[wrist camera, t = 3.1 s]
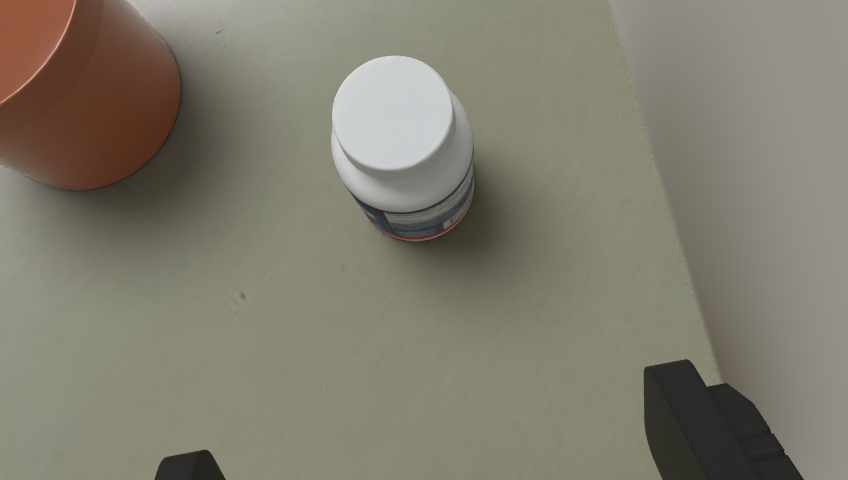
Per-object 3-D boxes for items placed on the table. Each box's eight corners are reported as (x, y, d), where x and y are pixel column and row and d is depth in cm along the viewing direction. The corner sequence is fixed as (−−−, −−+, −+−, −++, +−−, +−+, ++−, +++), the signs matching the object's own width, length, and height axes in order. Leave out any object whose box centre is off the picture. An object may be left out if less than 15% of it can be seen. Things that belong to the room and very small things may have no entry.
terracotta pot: (230, 105, 32) (134, 0, 23) (62, 241, 31) (-102, 188, 22) (114, -32, 34) (-15, -176, 25) (-46, 94, 33) (-235, -9, 24)
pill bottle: (348, 147, 31) (296, 56, 22) (457, 118, 31) (449, 15, 22) (374, 256, 30) (330, 206, 21) (488, 227, 30) (491, 164, 21)
